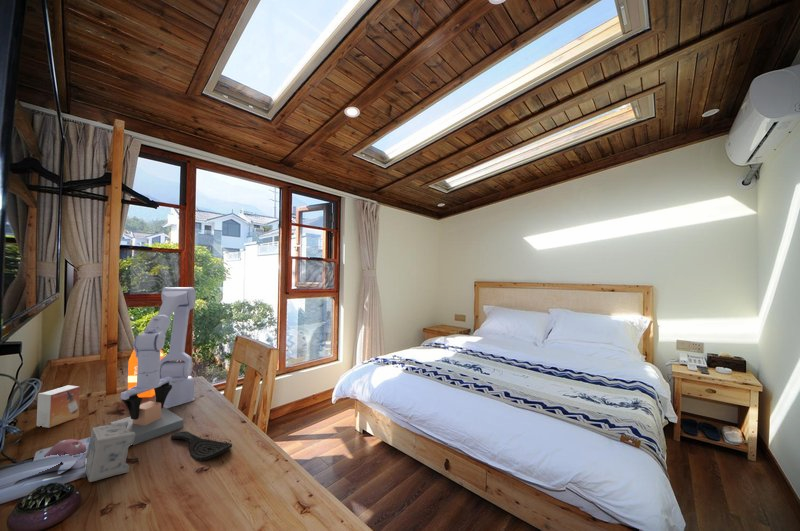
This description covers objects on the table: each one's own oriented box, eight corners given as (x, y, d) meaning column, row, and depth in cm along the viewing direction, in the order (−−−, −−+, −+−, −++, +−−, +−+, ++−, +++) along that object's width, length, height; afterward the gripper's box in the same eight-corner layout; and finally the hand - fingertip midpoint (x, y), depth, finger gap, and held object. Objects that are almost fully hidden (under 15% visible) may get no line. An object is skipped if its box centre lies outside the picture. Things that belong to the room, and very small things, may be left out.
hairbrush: (187, 421, 99) (239, 437, 88) (187, 433, 99) (239, 450, 88) (158, 433, 92) (210, 452, 81) (158, 446, 92) (210, 467, 81)
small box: (48, 428, 98) (49, 395, 98) (35, 426, 99) (36, 393, 99) (79, 416, 106) (80, 386, 106) (67, 415, 107) (68, 384, 107)
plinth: (163, 413, 109) (163, 406, 109) (183, 427, 100) (183, 419, 100) (110, 430, 98) (110, 422, 98) (127, 447, 89) (127, 438, 89)
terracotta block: (149, 416, 102) (149, 401, 102) (160, 418, 101) (161, 402, 101) (132, 423, 97) (133, 407, 97) (144, 425, 96) (145, 409, 96)
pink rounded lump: (78, 473, 79) (94, 442, 83) (56, 475, 76) (74, 443, 79) (54, 465, 82) (71, 436, 86) (33, 467, 79) (50, 436, 82)
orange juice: (141, 390, 130) (142, 342, 130) (163, 389, 131) (165, 342, 131) (126, 397, 122) (128, 346, 122) (151, 397, 123) (152, 346, 123)
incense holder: (134, 470, 79) (136, 429, 79) (88, 488, 72) (90, 443, 72) (126, 455, 85) (127, 417, 85) (83, 470, 79) (84, 429, 79)
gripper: (161, 363, 107) (160, 402, 107) (113, 376, 93) (112, 422, 93) (177, 364, 105) (176, 405, 105) (131, 379, 91) (129, 425, 91)
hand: (147, 413), depth 99 cm, fingers open, 7 cm apart
